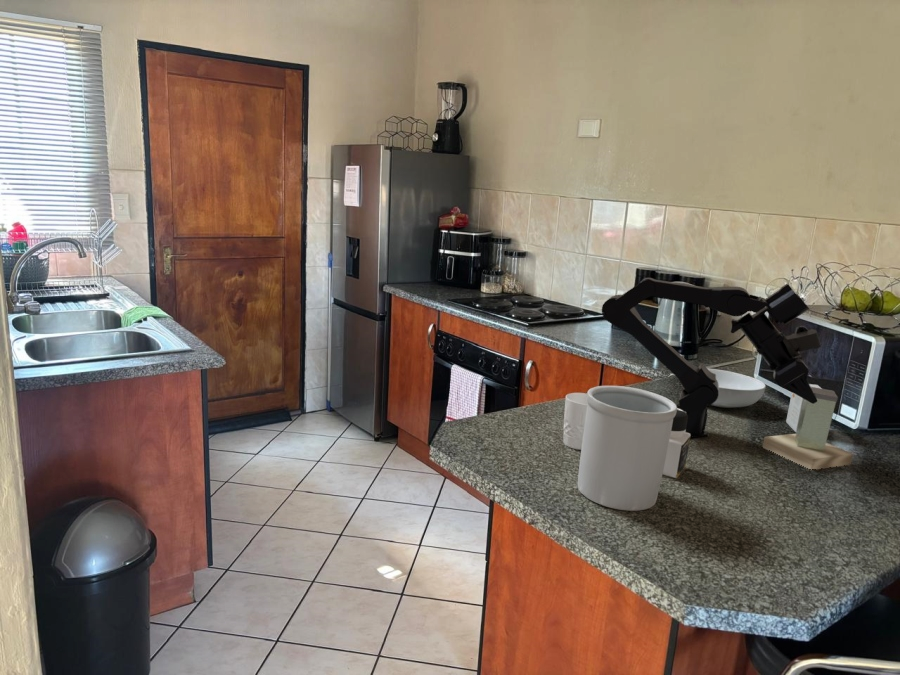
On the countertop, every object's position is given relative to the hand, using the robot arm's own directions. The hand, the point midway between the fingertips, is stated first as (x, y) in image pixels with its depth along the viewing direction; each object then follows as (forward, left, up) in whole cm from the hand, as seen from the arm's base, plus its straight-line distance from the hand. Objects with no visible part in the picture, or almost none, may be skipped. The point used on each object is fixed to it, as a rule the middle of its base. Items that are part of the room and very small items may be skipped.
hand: (812, 396), depth 138 cm
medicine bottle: (-36, +1, -13) cm, 39 cm away
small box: (+16, +12, -13) cm, 24 cm away
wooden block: (+1, -1, -14) cm, 14 cm away
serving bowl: (+10, +33, -13) cm, 37 cm away
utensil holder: (-52, -6, -13) cm, 54 cm away
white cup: (-46, +15, -13) cm, 50 cm away
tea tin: (+1, -1, -11) cm, 11 cm away
